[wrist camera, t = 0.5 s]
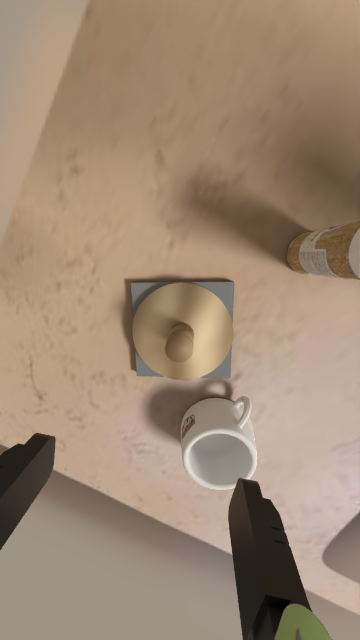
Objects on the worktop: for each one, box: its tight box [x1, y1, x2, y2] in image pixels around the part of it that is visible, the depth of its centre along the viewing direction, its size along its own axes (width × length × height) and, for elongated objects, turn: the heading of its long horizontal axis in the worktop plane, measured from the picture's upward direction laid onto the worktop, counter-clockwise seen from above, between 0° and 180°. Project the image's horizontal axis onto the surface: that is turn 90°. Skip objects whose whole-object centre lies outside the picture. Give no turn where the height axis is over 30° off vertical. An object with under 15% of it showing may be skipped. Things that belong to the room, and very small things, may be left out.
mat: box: [131, 281, 234, 378], centre depth 29 cm, size 12×12×1 cm
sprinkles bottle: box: [287, 221, 360, 280], centre depth 20 cm, size 5×5×14 cm
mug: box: [180, 396, 257, 490], centre depth 30 cm, size 12×10×6 cm
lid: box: [132, 283, 233, 380], centre depth 26 cm, size 12×12×6 cm
